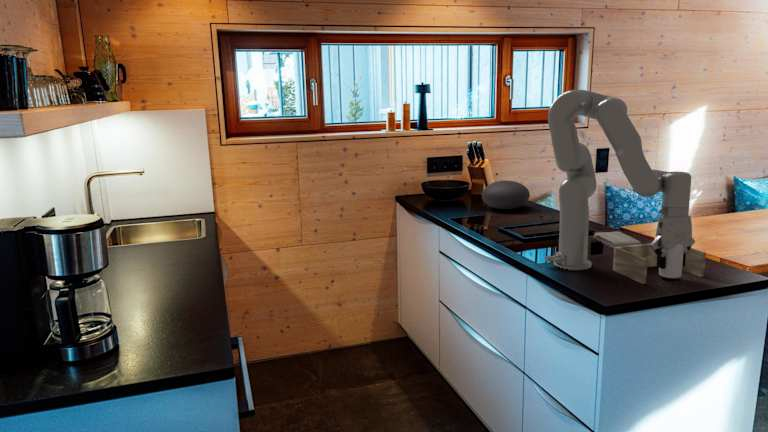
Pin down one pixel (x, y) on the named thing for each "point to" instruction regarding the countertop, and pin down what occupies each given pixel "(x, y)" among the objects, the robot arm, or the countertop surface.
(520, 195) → the flattened ellipsoid
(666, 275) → the can
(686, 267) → the wooden u-shaped stand
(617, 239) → the washcloth
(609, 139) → the robot arm
